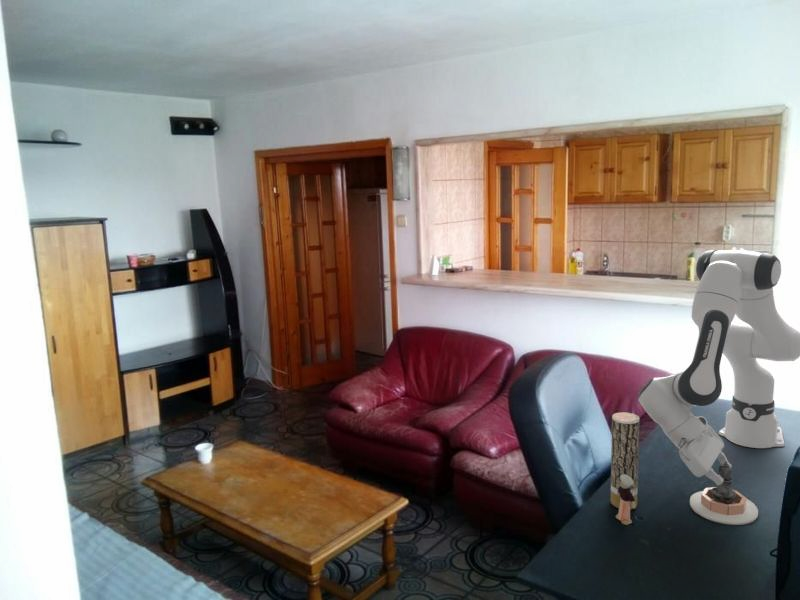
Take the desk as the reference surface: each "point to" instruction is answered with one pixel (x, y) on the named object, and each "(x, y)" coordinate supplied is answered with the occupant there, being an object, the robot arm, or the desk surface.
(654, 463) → the desk surface
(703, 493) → the saucer
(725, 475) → the grey chess piece
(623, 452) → the wooden cylinder
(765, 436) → the robot arm
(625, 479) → the grandmother figurine
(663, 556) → the desk surface
